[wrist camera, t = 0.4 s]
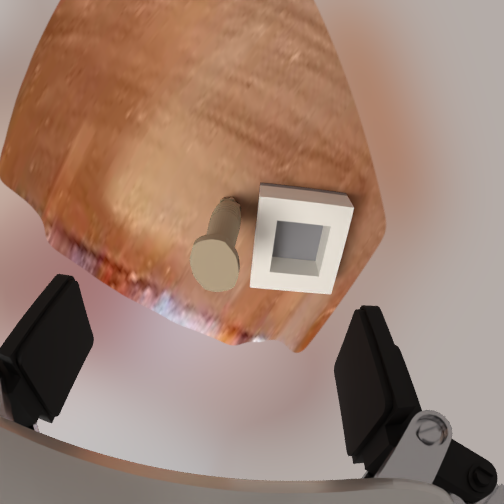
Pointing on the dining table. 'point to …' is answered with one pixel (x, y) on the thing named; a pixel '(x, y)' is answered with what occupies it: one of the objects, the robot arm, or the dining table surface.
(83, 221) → the dining table surface
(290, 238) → the socket stand
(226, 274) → the handle
